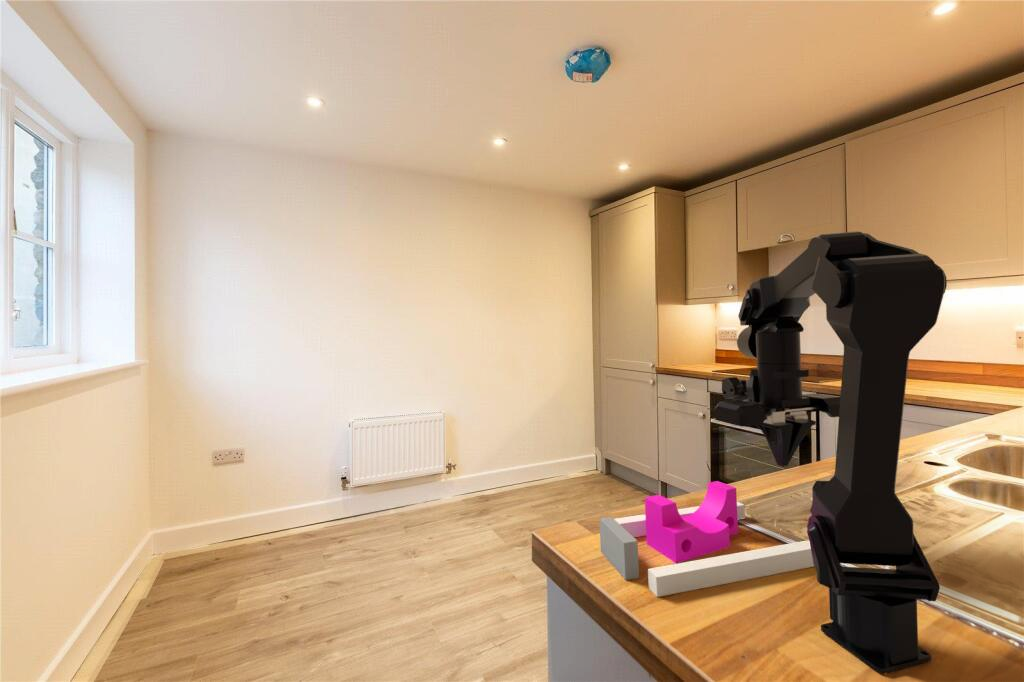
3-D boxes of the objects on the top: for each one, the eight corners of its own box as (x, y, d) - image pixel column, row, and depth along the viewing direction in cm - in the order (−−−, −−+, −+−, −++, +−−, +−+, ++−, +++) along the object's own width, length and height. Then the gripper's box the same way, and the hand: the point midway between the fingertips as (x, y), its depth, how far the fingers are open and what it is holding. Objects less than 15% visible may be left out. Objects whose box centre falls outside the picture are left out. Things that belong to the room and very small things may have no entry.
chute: (825, 564, 60) (824, 528, 60) (642, 599, 54) (640, 560, 54) (736, 514, 77) (735, 486, 77) (589, 537, 71) (587, 507, 71)
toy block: (676, 564, 62) (673, 512, 62) (646, 545, 68) (644, 497, 68) (751, 540, 68) (750, 492, 68) (718, 525, 74) (717, 480, 73)
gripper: (785, 357, 76) (789, 446, 76) (690, 363, 72) (694, 458, 72) (848, 360, 65) (851, 464, 65) (740, 367, 61) (744, 479, 61)
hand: (782, 465), depth 66 cm, fingers closed
